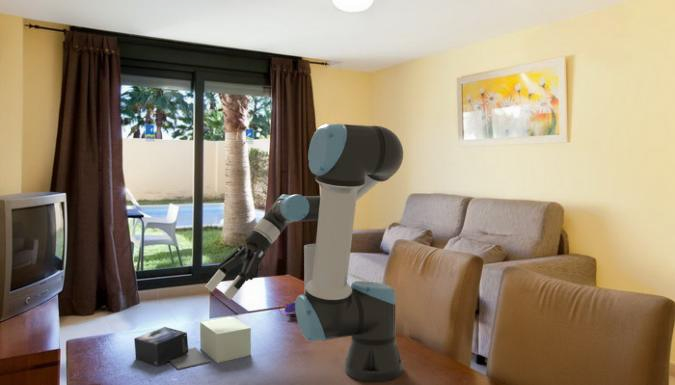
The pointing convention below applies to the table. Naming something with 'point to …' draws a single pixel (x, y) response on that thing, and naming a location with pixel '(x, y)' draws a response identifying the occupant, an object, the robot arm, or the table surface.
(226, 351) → the step
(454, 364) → the table surface
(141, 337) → the small box
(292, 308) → the game controller
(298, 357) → the table surface
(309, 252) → the cylinder vase
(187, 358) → the mat
